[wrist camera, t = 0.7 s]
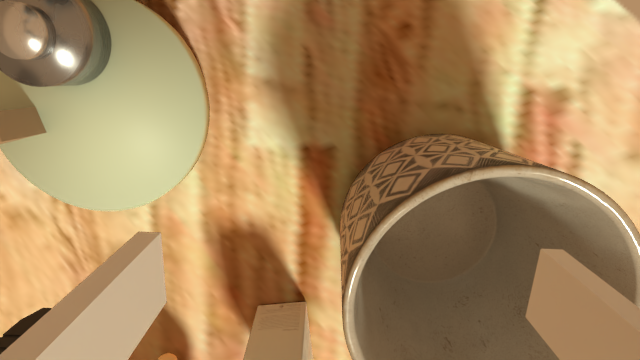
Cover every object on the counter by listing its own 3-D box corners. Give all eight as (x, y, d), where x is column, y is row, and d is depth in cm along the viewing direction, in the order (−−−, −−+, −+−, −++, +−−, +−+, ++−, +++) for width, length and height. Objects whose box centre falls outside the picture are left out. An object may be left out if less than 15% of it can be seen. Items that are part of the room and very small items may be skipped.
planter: (554, 235, 40) (703, 339, 24) (403, 329, 44) (448, 475, 28) (456, 86, 36) (558, 95, 21) (298, 202, 40) (280, 287, 24)
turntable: (-41, 22, 34) (-130, 9, 28) (167, -38, 33) (127, -67, 26) (51, 223, 40) (-5, 253, 33) (236, 179, 38) (216, 202, 31)
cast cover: (1, 0, 32) (-63, -15, 27) (89, -25, 32) (42, -45, 26) (41, 95, 34) (-11, 98, 29) (125, 73, 34) (87, 72, 28)
